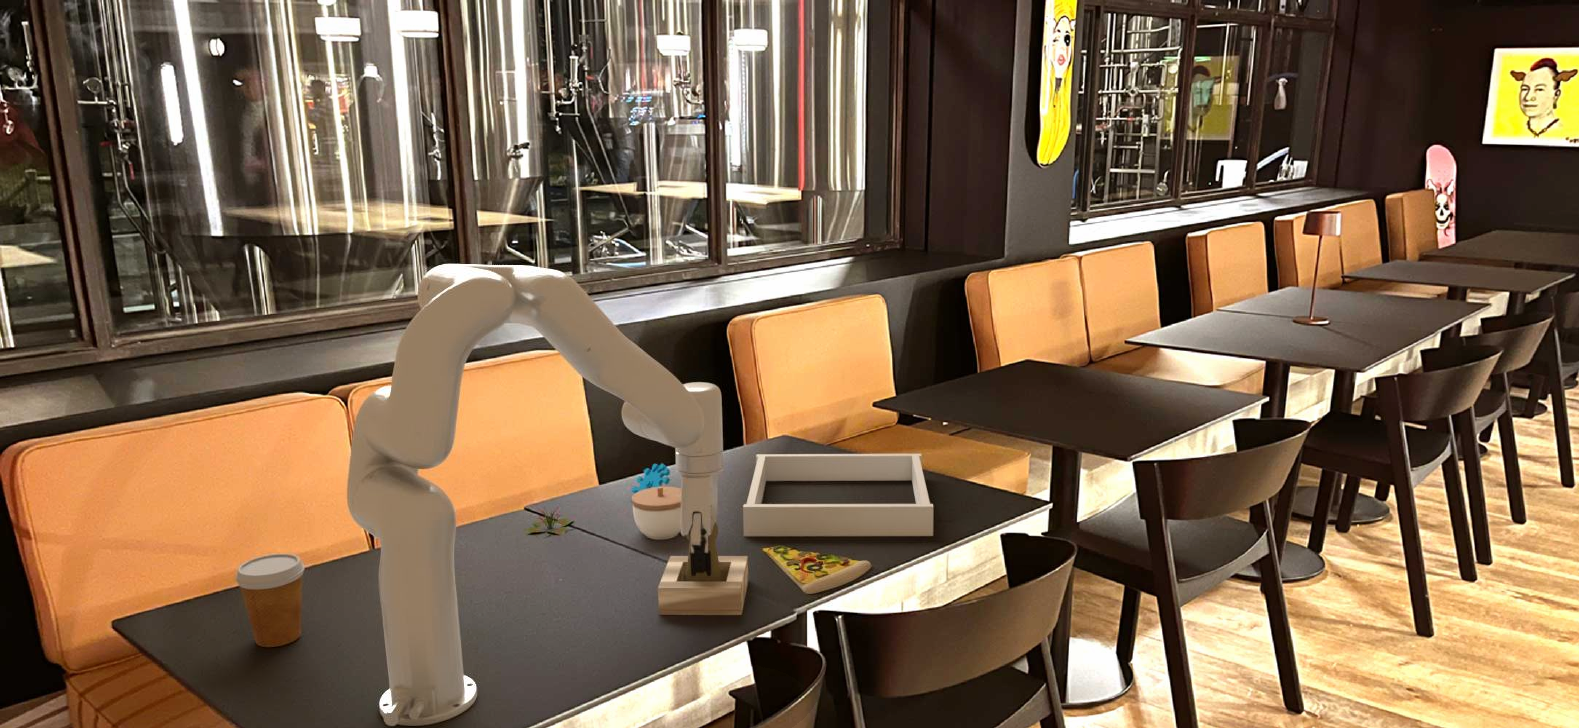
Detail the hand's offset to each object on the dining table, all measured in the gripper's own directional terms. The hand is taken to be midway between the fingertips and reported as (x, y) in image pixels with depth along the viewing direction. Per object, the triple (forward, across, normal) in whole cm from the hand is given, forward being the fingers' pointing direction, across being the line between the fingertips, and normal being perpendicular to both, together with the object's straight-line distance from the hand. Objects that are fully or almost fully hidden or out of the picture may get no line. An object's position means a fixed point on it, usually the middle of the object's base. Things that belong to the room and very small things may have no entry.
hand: (703, 568), depth 179 cm
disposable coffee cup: (+6, +15, -63) cm, 65 cm away
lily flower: (+6, -31, -34) cm, 46 cm away
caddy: (+5, 0, 0) cm, 5 cm away
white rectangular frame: (+5, -43, +22) cm, 49 cm away
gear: (+6, -44, -18) cm, 48 cm away
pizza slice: (+6, -13, +16) cm, 21 cm away
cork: (+3, 0, 0) cm, 3 cm away
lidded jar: (+5, -28, -11) cm, 31 cm away
